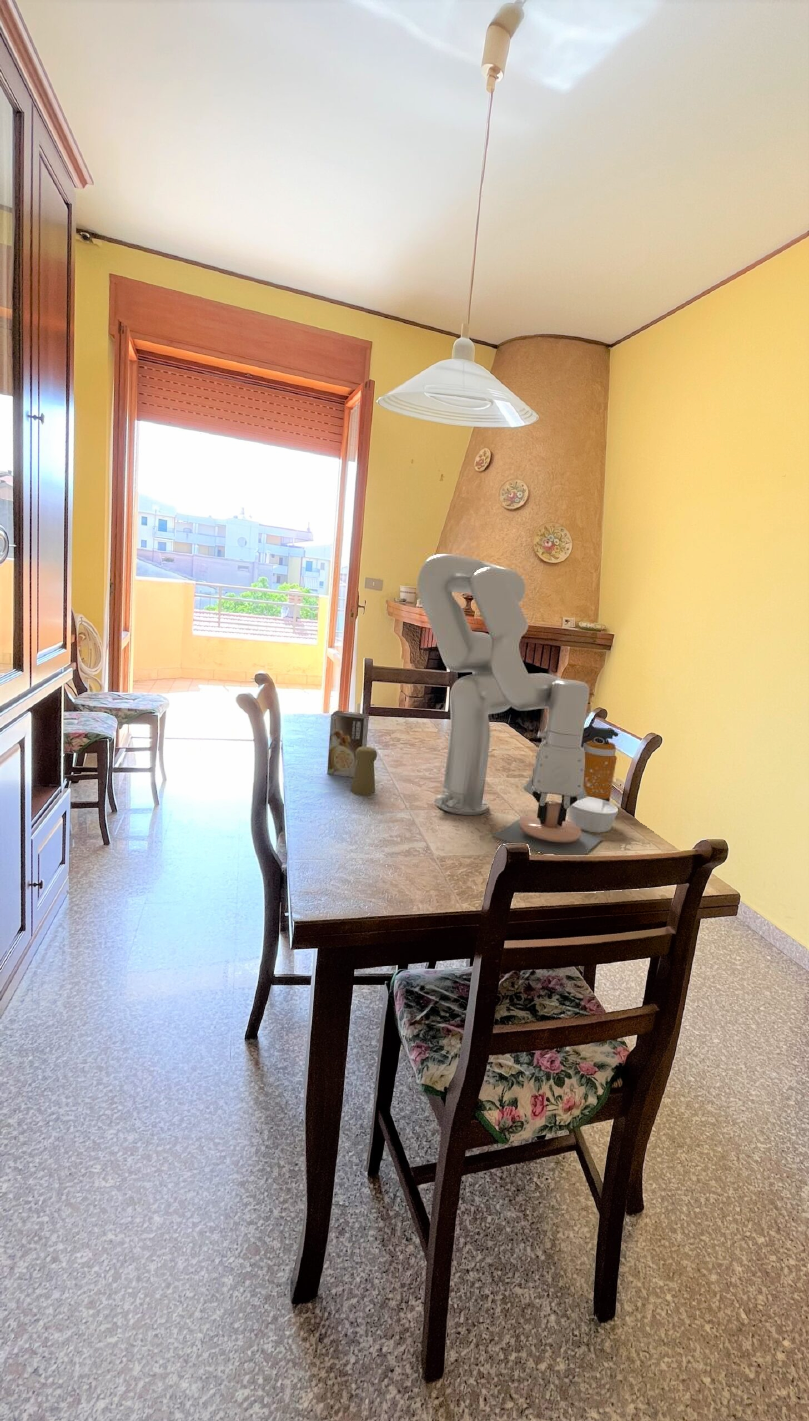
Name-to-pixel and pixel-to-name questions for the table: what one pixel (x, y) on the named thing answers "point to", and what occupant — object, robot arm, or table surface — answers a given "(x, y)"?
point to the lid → (550, 826)
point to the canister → (599, 761)
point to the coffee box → (346, 741)
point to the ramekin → (592, 814)
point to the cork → (364, 771)
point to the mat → (547, 842)
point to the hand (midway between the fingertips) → (550, 822)
